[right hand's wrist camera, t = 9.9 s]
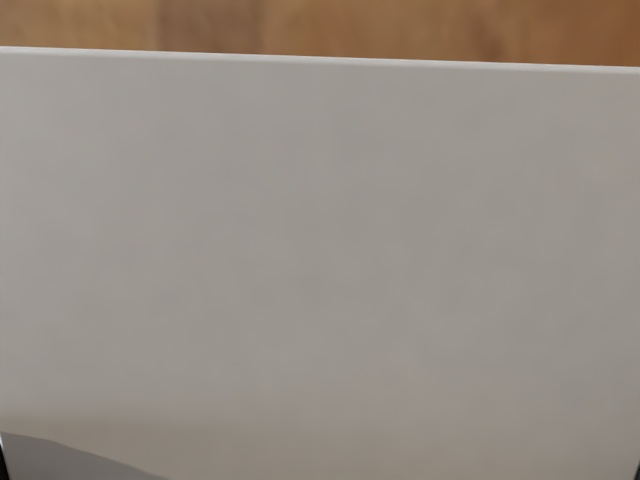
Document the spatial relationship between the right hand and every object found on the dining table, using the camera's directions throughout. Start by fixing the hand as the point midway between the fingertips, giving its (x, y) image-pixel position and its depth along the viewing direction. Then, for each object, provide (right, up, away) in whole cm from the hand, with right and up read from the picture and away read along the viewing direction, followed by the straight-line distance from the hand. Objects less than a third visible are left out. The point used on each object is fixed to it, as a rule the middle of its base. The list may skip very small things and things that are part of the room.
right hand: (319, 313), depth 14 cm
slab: (-1, -22, +8) cm, 24 cm away
